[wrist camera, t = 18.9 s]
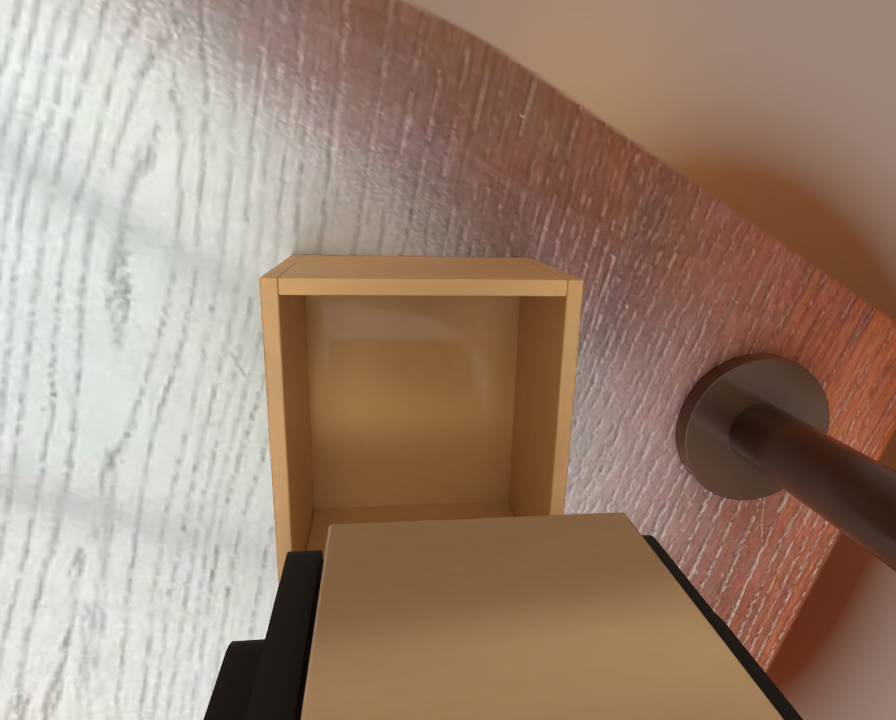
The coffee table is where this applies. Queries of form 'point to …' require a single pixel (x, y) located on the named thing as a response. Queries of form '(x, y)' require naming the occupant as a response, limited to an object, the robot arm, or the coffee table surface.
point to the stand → (784, 449)
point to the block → (514, 627)
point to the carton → (416, 390)
